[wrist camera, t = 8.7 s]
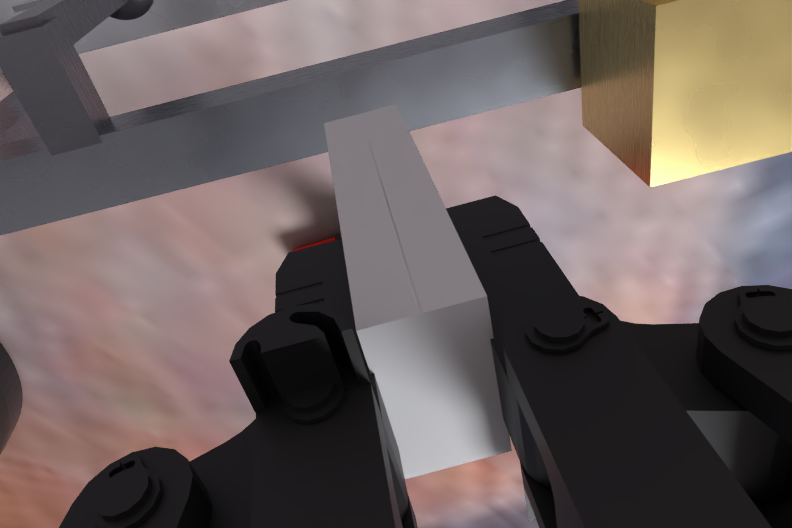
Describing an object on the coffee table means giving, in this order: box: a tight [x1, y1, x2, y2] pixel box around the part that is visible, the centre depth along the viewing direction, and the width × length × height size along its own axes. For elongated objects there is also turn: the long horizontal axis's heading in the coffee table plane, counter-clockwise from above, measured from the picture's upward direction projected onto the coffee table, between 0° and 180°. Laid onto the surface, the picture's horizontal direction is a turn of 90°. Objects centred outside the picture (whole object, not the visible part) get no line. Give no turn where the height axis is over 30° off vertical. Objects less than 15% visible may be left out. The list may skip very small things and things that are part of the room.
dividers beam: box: [0, 0, 581, 235], centre depth 20 cm, size 28×5×10 cm, turn 102°
